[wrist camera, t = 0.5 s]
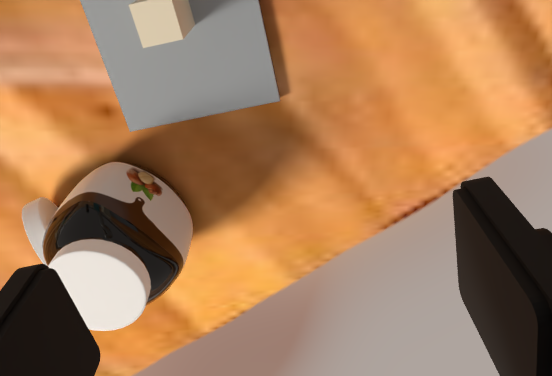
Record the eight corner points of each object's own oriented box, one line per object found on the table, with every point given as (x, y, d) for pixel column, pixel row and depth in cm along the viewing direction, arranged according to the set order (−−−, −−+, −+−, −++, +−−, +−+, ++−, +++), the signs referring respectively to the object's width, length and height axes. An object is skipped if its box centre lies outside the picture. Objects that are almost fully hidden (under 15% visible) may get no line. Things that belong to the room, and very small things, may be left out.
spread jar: (211, 211, 43) (190, 302, 32) (134, 284, 47) (94, 385, 36) (96, 121, 39) (31, 191, 28) (22, 208, 43) (-59, 298, 32)
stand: (47, -100, 32) (3, -105, 26) (227, -147, 30) (217, -161, 25) (132, 128, 39) (111, 158, 34) (279, 97, 38) (280, 124, 33)
